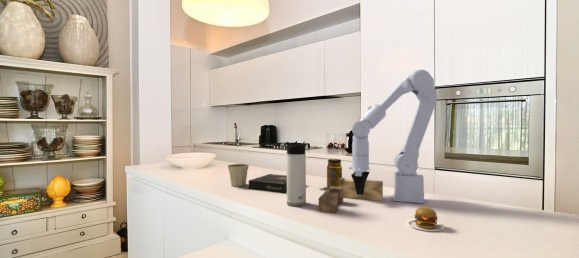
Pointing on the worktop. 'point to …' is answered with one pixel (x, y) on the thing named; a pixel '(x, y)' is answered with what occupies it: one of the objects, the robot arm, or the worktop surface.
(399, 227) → the worktop surface
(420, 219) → the hamburger
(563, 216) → the worktop surface
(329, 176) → the condiment
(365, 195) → the rail
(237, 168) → the flower pot
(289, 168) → the travel mug
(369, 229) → the worktop surface
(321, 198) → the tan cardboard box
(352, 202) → the worktop surface
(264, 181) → the portable cd player
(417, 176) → the robot arm
